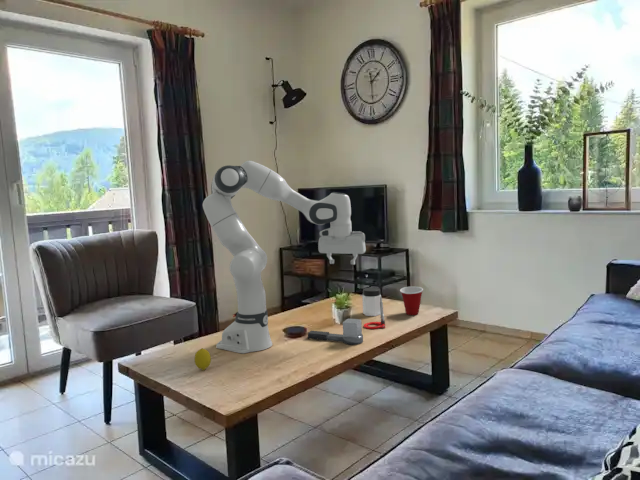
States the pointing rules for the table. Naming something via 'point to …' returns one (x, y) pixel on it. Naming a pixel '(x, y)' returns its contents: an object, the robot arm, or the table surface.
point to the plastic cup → (411, 299)
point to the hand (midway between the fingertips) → (342, 264)
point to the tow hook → (380, 324)
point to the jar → (371, 301)
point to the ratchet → (334, 337)
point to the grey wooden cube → (352, 328)
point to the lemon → (202, 359)
